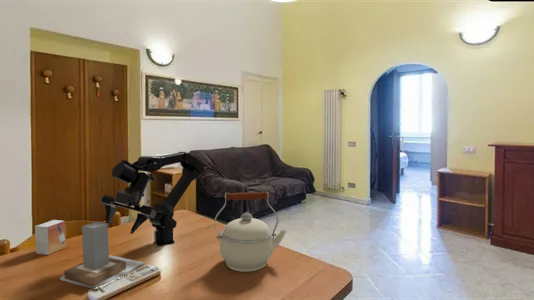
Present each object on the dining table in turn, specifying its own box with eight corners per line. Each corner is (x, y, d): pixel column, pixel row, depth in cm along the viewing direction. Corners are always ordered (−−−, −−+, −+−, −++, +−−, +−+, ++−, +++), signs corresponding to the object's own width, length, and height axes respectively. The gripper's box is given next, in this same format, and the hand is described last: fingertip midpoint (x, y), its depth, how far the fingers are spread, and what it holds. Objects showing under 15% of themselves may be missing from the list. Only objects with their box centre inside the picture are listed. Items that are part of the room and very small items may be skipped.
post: (97, 260, 102) (96, 221, 101) (108, 263, 100) (107, 223, 99) (83, 267, 98) (81, 226, 97) (95, 270, 96) (93, 228, 95)
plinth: (109, 257, 113) (108, 247, 113) (144, 264, 108) (144, 254, 107) (60, 280, 97) (59, 268, 96) (98, 290, 91) (98, 278, 91)
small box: (48, 255, 114) (47, 227, 114) (35, 254, 116) (34, 225, 115) (66, 247, 122) (65, 220, 121) (54, 245, 123) (53, 219, 123)
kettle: (214, 277, 99) (214, 199, 97) (214, 253, 117) (214, 187, 115) (292, 272, 103) (293, 197, 101) (281, 250, 121) (281, 186, 119)
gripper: (103, 174, 109) (81, 219, 103) (154, 188, 107) (135, 233, 101) (116, 184, 119) (97, 225, 113) (163, 196, 118) (146, 238, 112)
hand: (118, 230), depth 109 cm, fingers open, 9 cm apart
